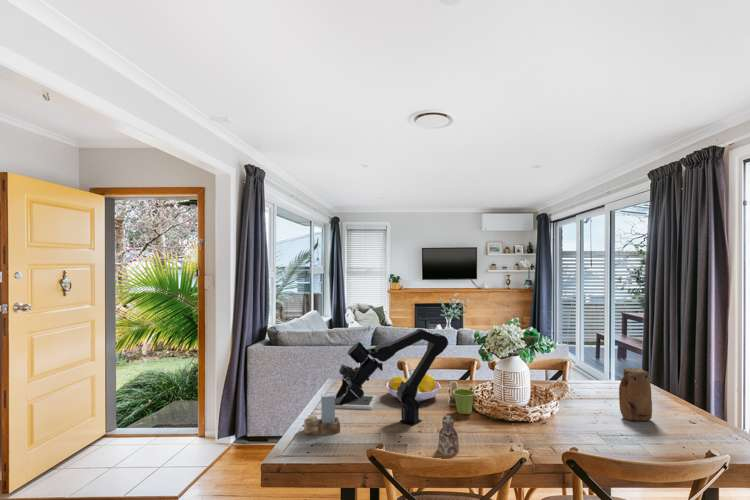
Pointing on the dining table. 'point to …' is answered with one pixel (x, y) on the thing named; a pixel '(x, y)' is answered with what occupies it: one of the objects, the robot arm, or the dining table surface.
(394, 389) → the fruit bowl
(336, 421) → the rack
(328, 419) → the light blue tall bar
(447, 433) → the figurine
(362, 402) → the picture frame
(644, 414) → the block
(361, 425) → the dining table surface
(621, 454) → the dining table surface
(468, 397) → the plant pot
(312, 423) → the offcut stack
